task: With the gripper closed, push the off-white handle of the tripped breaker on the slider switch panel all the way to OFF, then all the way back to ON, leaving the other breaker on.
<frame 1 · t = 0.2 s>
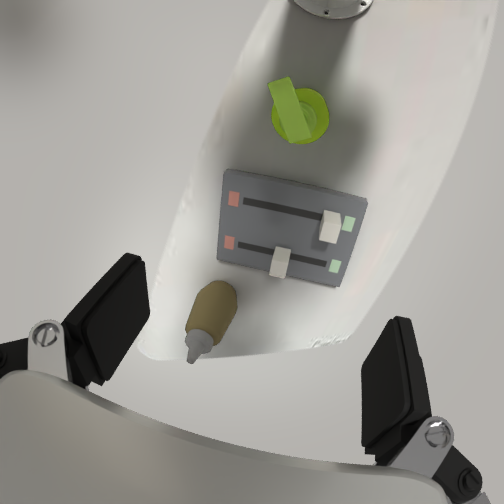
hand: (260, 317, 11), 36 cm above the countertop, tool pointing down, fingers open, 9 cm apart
slider switch panel: (287, 227, 49), on the countertop
breaker on: (329, 226, 43), point 4 cm above the countertop, slide at 12.0 cm
squeeze bottle: (222, 291, 60), on the countertop
breaker tripped: (280, 262, 48), point 4 cm above the countertop, slide at 6.0 cm
soap dispenser: (304, 104, 39), on the countertop
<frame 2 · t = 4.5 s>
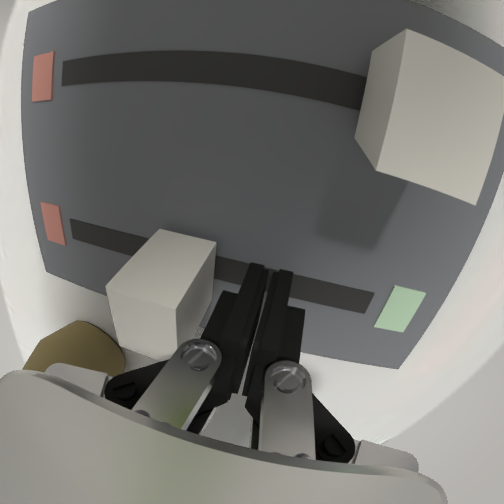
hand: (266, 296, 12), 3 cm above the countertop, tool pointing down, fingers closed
slider switch panel: (223, 161, 13), on the countertop
breaker on: (420, 110, 6), point 4 cm above the countertop, slide at 12.0 cm
squeeze bottle: (99, 342, 23), on the countertop
breaker tripped: (166, 294, 11), point 4 cm above the countertop, slide at 5.5 cm, touching gripper
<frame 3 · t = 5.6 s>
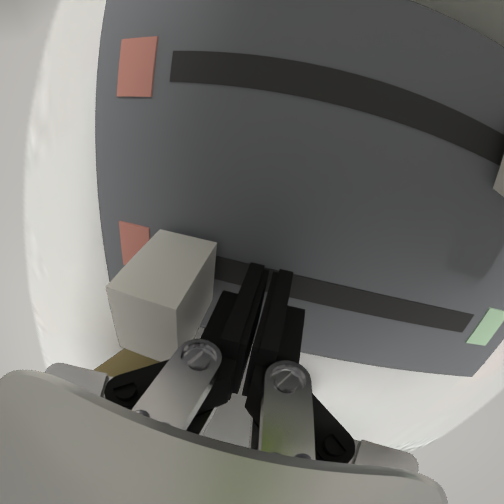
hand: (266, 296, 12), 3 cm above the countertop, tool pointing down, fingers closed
slider switch panel: (355, 191, 12), on the countertop
squeeze bottle: (156, 366, 22), on the countertop
breaker tripped: (167, 294, 11), point 4 cm above the countertop, slide at -0.2 cm, touching gripper
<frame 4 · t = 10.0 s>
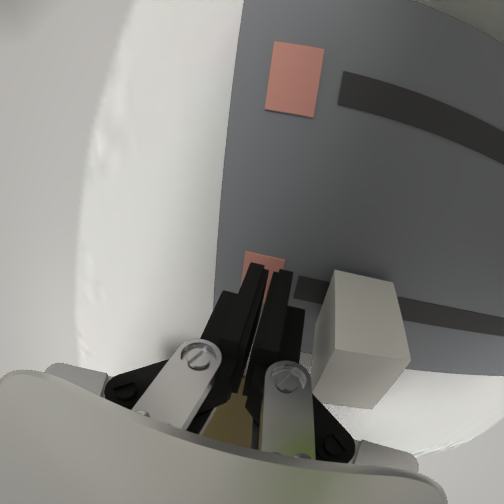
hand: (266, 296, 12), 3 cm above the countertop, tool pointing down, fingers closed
slider switch panel: (468, 223, 11), on the countertop
squeeze bottle: (229, 389, 22), on the countertop
breaker tripped: (355, 339, 10), point 4 cm above the countertop, slide at 1.0 cm, touching gripper
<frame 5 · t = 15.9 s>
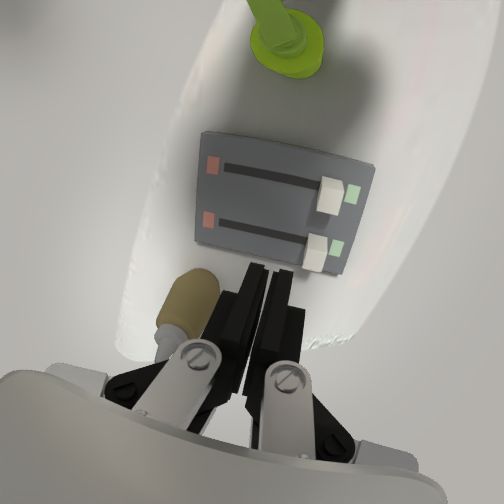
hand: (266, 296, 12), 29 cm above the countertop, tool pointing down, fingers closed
slider switch panel: (278, 201, 41), on the countertop
breaker on: (329, 195, 34), point 4 cm above the countertop, slide at 12.0 cm
squeeze bottle: (203, 281, 51), on the countertop
breaker tripped: (315, 252, 38), point 4 cm above the countertop, slide at 12.1 cm
soap dispenser: (296, 53, 30), on the countertop
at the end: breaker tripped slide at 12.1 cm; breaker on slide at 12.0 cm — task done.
